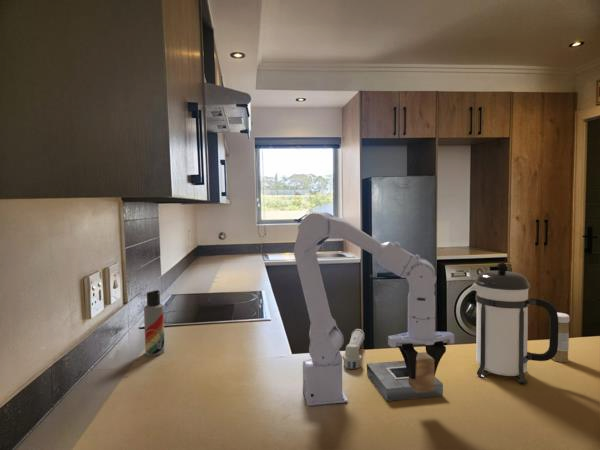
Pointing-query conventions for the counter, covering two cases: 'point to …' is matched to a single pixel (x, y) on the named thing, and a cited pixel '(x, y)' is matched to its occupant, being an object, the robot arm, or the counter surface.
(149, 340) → the lotion bottle
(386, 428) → the counter surface
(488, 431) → the counter surface
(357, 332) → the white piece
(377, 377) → the grey socket base
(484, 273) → the coffee press
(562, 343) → the sprinkles bottle
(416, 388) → the oak peg
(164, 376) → the counter surface
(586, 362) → the counter surface
